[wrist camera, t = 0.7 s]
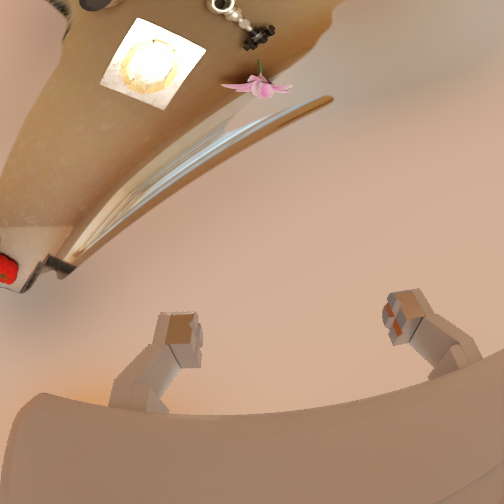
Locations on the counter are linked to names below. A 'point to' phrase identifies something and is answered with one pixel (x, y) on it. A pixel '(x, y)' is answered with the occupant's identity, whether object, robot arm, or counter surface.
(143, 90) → the flange
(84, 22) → the counter surface
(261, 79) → the lily
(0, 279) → the tomato
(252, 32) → the valve
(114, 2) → the black-capped jar
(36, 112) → the counter surface
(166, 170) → the counter surface
